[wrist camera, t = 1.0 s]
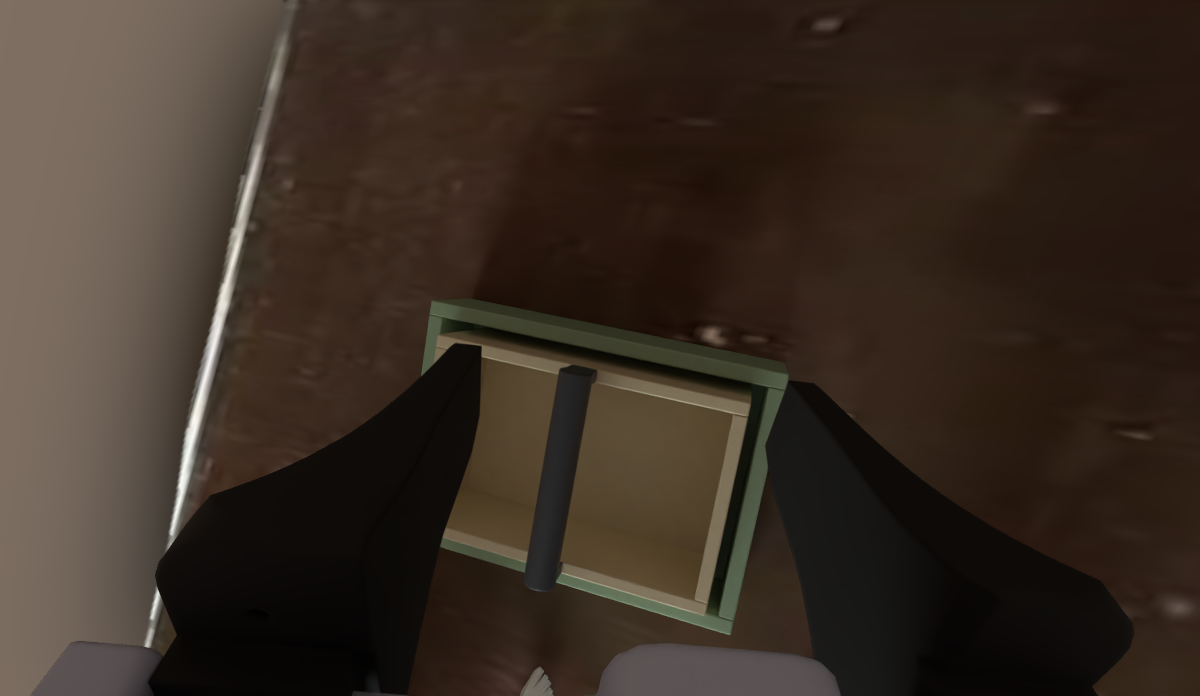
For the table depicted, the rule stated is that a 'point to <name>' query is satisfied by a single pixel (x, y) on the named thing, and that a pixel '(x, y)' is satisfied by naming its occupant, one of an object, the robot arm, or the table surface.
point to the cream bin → (599, 467)
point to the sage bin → (687, 356)
